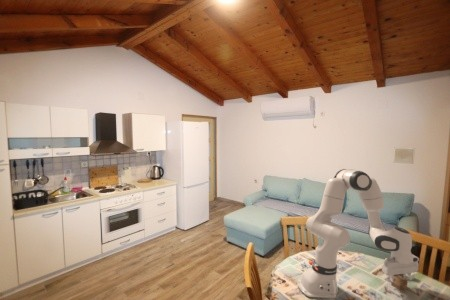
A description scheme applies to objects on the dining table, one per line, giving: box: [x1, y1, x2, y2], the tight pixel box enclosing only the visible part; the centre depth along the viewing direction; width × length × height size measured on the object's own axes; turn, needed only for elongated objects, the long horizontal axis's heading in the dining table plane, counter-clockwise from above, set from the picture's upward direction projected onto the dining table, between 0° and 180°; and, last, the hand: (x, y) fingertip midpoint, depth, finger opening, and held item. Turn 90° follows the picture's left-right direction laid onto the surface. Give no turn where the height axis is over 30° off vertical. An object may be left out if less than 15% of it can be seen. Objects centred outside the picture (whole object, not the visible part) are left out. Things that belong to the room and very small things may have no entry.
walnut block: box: [390, 274, 409, 292], centre depth 125 cm, size 5×5×6 cm
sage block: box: [402, 272, 416, 281], centre depth 133 cm, size 4×4×4 cm
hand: (399, 280), depth 126 cm, fingers open, 8 cm apart
